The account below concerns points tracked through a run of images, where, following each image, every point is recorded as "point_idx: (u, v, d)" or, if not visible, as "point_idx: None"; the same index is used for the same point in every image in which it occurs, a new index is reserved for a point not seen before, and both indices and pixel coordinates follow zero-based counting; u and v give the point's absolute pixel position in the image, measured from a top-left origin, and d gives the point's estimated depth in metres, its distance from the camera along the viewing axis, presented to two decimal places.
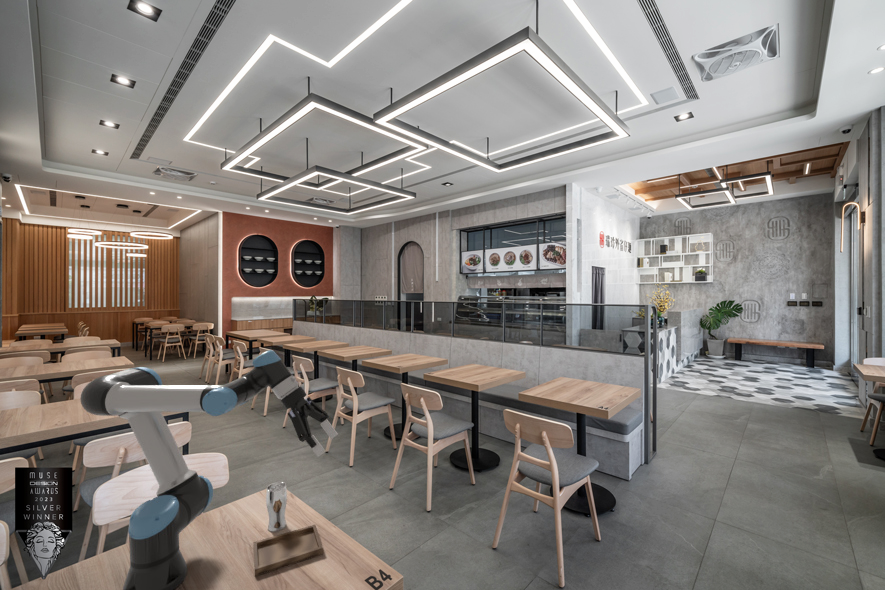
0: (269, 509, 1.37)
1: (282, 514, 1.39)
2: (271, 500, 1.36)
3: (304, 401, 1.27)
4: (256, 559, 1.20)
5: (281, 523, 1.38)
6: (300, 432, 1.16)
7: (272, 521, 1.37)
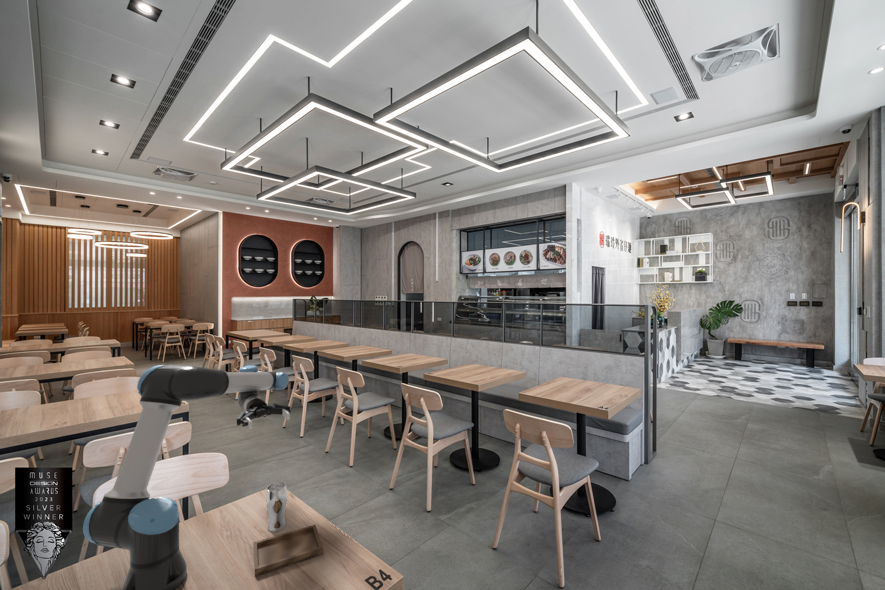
0: (269, 509, 1.37)
1: (282, 514, 1.39)
2: (271, 500, 1.36)
3: None
4: (256, 559, 1.20)
5: (281, 523, 1.38)
6: None
7: (272, 521, 1.37)
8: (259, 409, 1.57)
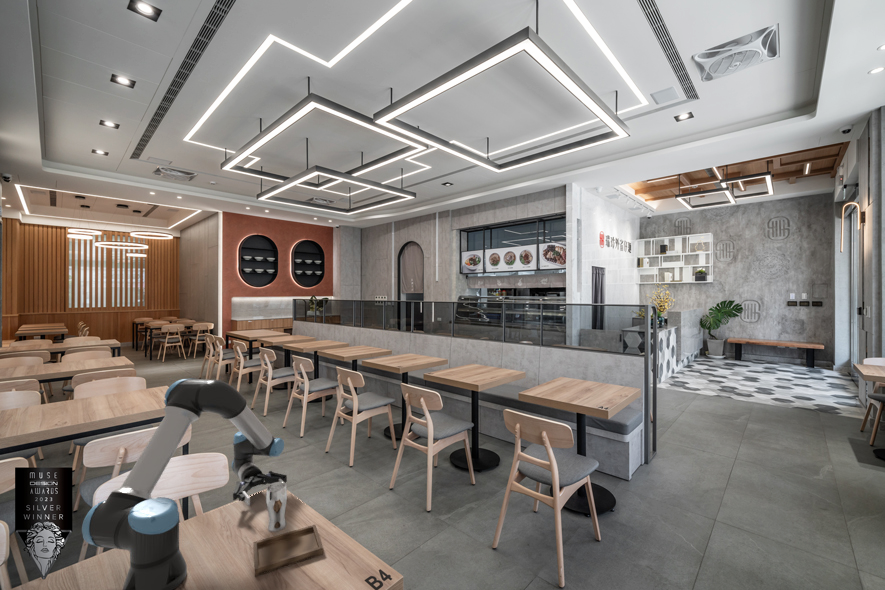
0: (269, 509, 1.37)
1: (282, 514, 1.39)
2: (271, 500, 1.36)
3: None
4: (256, 559, 1.20)
5: (281, 523, 1.38)
6: None
7: (272, 521, 1.37)
8: (255, 479, 1.56)
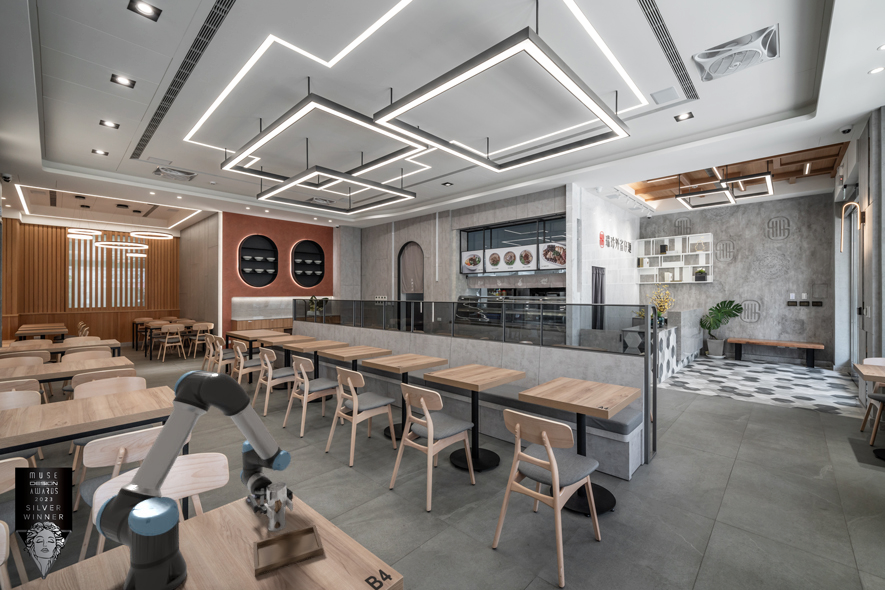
0: None
1: (282, 514, 1.39)
2: (271, 500, 1.36)
3: None
4: (256, 559, 1.20)
5: (281, 523, 1.38)
6: None
7: (272, 521, 1.37)
8: (265, 491, 1.47)
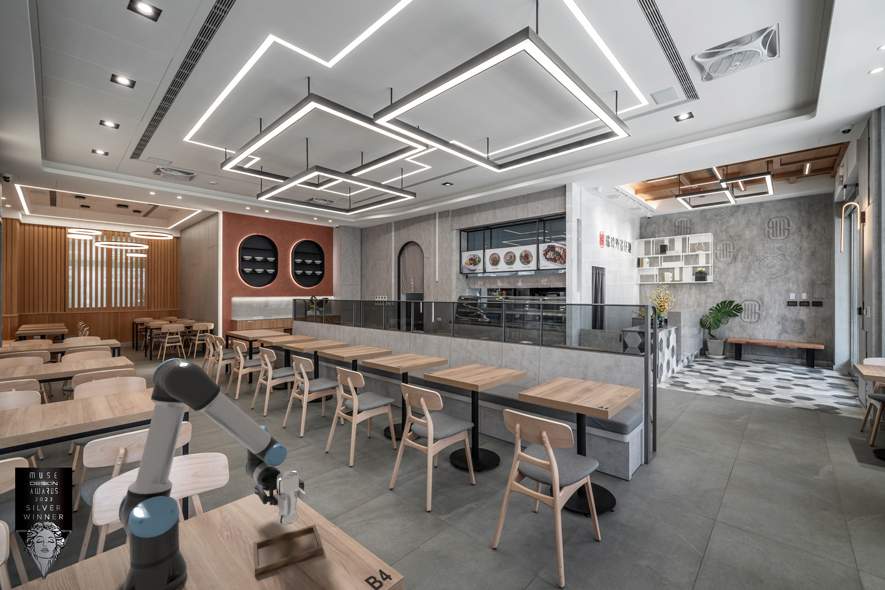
0: None
1: (294, 505, 1.27)
2: (283, 490, 1.25)
3: None
4: (256, 559, 1.20)
5: (293, 515, 1.27)
6: None
7: (283, 513, 1.26)
8: (274, 481, 1.35)
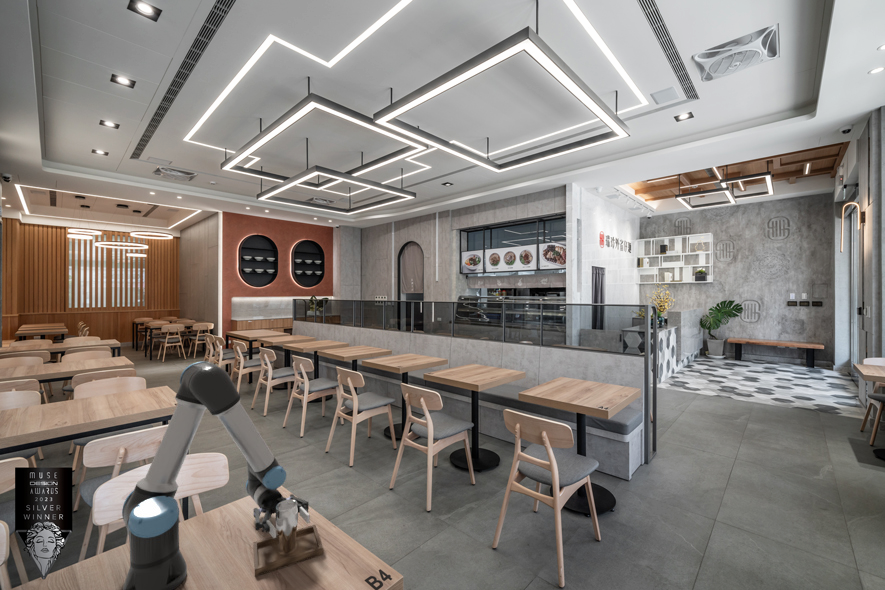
0: (279, 531, 1.23)
1: (293, 536, 1.25)
2: (282, 521, 1.23)
3: None
4: (256, 559, 1.20)
5: (292, 546, 1.25)
6: None
7: (282, 544, 1.24)
8: (274, 504, 1.34)
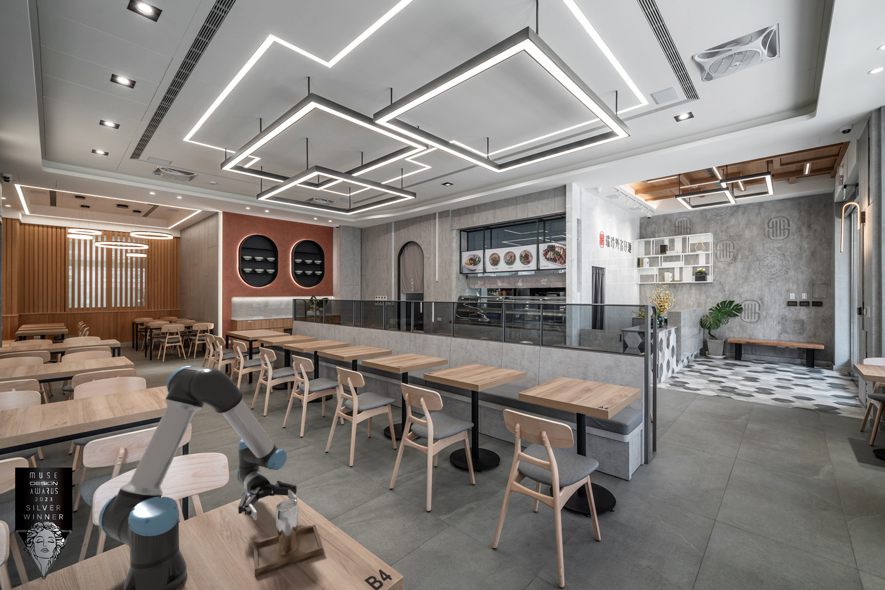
0: (279, 530, 1.23)
1: (293, 536, 1.25)
2: (282, 520, 1.23)
3: None
4: (256, 559, 1.20)
5: (292, 546, 1.25)
6: None
7: (282, 544, 1.24)
8: (262, 490, 1.43)
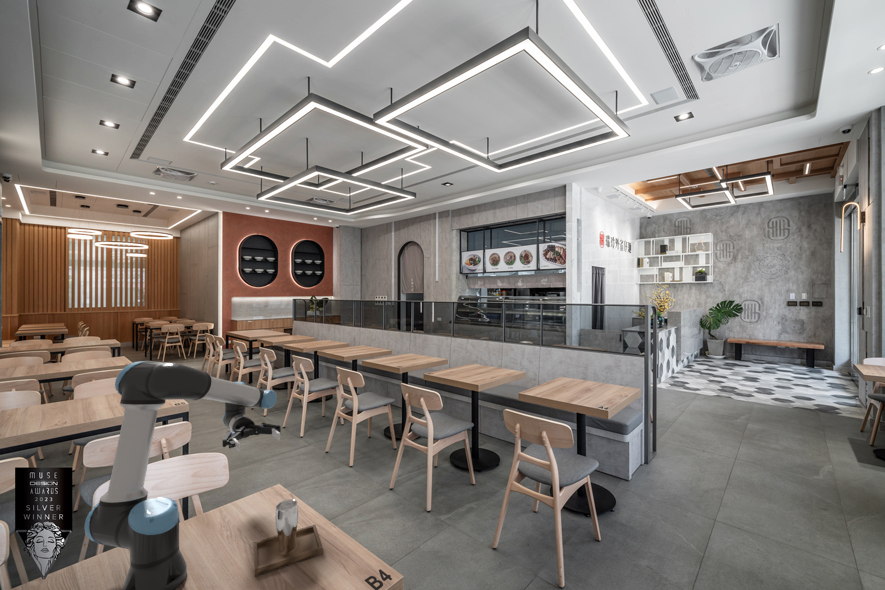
0: (279, 530, 1.23)
1: (293, 536, 1.25)
2: (282, 520, 1.23)
3: None
4: (256, 559, 1.20)
5: (292, 546, 1.25)
6: None
7: (282, 544, 1.24)
8: (247, 429, 1.47)
